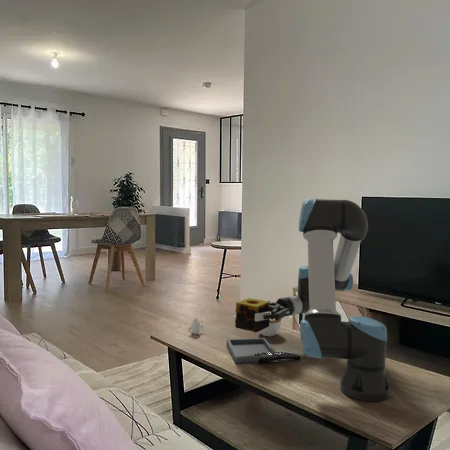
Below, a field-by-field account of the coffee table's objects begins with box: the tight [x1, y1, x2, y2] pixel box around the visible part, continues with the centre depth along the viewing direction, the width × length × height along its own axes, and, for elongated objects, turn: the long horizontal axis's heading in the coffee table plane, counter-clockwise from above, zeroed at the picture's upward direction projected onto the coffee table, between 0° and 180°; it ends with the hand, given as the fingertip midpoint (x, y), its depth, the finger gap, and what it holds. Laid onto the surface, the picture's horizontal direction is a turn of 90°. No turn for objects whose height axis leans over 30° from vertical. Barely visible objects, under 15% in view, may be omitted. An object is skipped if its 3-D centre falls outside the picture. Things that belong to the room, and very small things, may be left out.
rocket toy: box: [187, 316, 204, 335], centre depth 195 cm, size 5×5×8 cm
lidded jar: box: [259, 318, 282, 337], centre depth 197 cm, size 11×11×9 cm
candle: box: [234, 297, 271, 333], centre depth 172 cm, size 10×10×10 cm
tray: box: [226, 337, 279, 365], centre depth 173 cm, size 20×16×2 cm
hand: (245, 313), depth 170 cm, fingers closed on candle, 13 cm apart
